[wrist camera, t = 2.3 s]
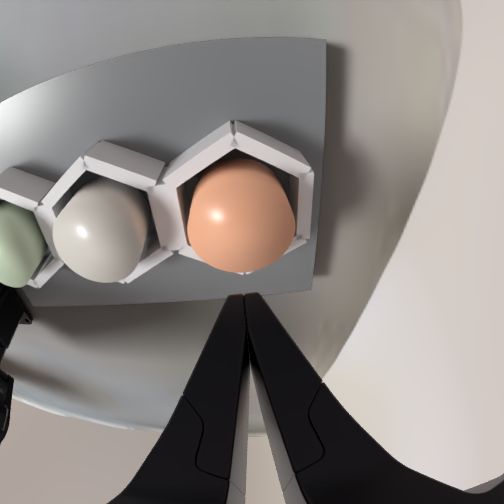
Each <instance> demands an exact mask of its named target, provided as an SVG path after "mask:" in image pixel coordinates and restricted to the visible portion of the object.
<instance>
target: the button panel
mask: <svg viewBox="0 0 504 504" xmlns="http://www.w3.org/2000/svg"><path fill="white" fill-rule="evenodd" d="M325 109H326V39H314V38H294V37H253V38H233V39H220V40H209V41H200V42H192V43H185V44H178V45H172V46H166V47H161V48H156V49H151V50H146V51H141V52H137V53H132V54H128V55H124V56H120V57H116V58H113V59H109V60H106V61H102V62H99V63H95V64H92V65H89V66H86V67H83V68H80V69H77V70H74V71H71V72H69V73H66V74H63V75H60V76H58V77H55V78H53V79H50V80H48V81H45V82H43V83H41V84H38V85H36V86H34V87H31V88H29V89H27V90H25V91H23V92H21V93H19V94H17V95H14V96H12V97H10V98H8V99H7V100H5V101H3V102H1V103H0V204H1V203H2V202H3V201H4V200H6V201H8V202H11V203H13V204H15V205H18V206H20V207H23V208H25V209H28V210H30V211H33V212H34V214H35V217H36V219H37V221H38V224H39V226H40V228H41V231H42V233H43V235H44V238H45V240H46V242H47V244H48V246H49V248H48V250H47V252H46V254H45V255H44V257H43V258H42V260H41V262H40V263H39V265H38V267H37V268H36V270H35V272H34V273H33V275H32V277H31V278H30V280H29V282H28V283H27V284H26V285H25V286H23V287H21V288H22V290H23V291H24V293H25V294H26V296H27V298H28V299H29V301H30V302H31V304H32V305H33V306H95V305H123V304H145V303H164V302H181V301H196V300H210V299H223V298H227V297H228V295H230V294H240V293H241V294H243V296H244V294H245V293H251V292H258V293H259V294H260V295H269V294H279V293H289V292H298V291H308V290H311V287H312V279H313V271H314V262H315V253H316V244H317V234H318V223H319V212H320V200H321V187H322V172H323V156H324V136H325ZM234 158H245V159H251V160H255V161H258V162H260V163H262V164H264V165H266V166H267V167H269V168H270V169H271V170H272V171H273V172H274V173H275V174H276V175H277V177H278V178H279V180H280V182H281V184H282V186H283V189H284V191H285V194H286V196H287V199H288V202H289V204H290V207H291V209H292V212H293V215H294V219H295V234H294V237H293V240H292V242H291V245H290V246H289V248H288V250H287V251H286V252H285V253H284V254H283V255H282V256H281V257H280V258H279V259H278V260H277V261H275V262H274V263H272V264H271V265H269V266H267V267H265V268H262V269H259V270H256V271H252V272H244V273H235V272H227V271H223V270H220V269H217V268H214V267H212V266H211V265H209V264H207V263H206V262H204V261H203V260H202V259H201V258H200V257H199V256H198V255H197V254H196V253H195V251H194V250H193V248H192V246H191V244H190V242H189V238H188V232H187V227H188V220H189V214H190V209H191V203H192V198H193V193H194V189H195V186H196V184H197V182H198V180H199V179H200V177H201V176H202V175H203V174H204V173H205V172H206V171H207V170H208V169H209V168H210V167H212V166H213V165H215V164H217V163H219V162H222V161H225V160H228V159H234ZM102 176H105V177H108V178H110V179H113V180H116V181H119V182H122V183H124V184H127V185H130V186H133V187H135V188H137V189H138V190H139V191H140V192H141V194H142V195H143V196H144V198H145V199H146V201H147V203H148V205H149V209H150V213H151V225H150V229H149V232H148V235H147V238H146V241H145V244H144V247H143V250H142V253H141V256H140V259H139V262H138V265H137V267H136V268H135V270H134V271H133V272H132V274H130V275H129V276H128V277H126V278H125V279H123V280H120V281H117V282H111V283H103V282H96V281H92V280H89V279H87V278H84V277H82V276H80V275H79V274H77V273H75V272H74V271H73V270H72V269H70V268H69V267H68V266H67V265H66V264H65V263H64V261H63V260H62V259H61V257H60V256H59V254H58V252H57V250H56V248H55V245H54V241H53V226H54V222H55V220H56V218H57V216H58V215H59V214H60V212H61V211H62V210H63V209H64V207H65V206H66V205H67V204H68V202H69V201H70V200H71V199H72V197H73V196H74V195H75V194H76V193H77V191H78V190H79V189H80V188H81V187H82V186H83V185H84V184H85V183H86V182H88V181H89V180H91V179H94V178H97V177H102Z"/></svg>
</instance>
